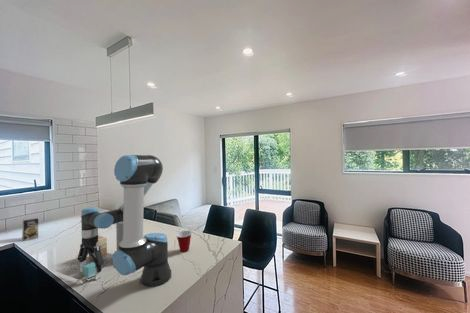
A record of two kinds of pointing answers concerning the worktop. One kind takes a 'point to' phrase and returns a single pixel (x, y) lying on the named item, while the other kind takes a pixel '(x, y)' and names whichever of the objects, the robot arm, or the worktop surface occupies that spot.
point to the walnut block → (103, 252)
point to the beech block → (102, 242)
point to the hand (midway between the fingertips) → (90, 275)
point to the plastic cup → (184, 240)
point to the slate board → (88, 261)
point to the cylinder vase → (119, 233)
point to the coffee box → (30, 229)
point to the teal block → (89, 270)
